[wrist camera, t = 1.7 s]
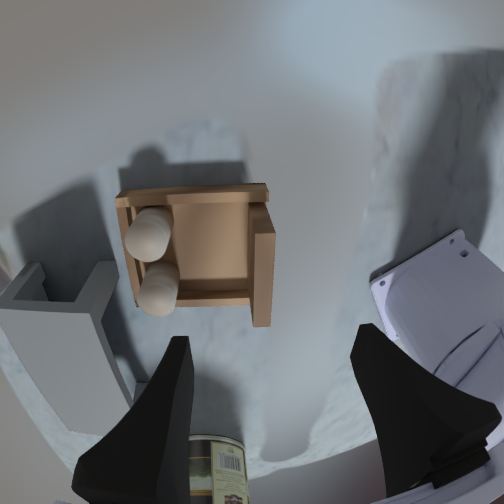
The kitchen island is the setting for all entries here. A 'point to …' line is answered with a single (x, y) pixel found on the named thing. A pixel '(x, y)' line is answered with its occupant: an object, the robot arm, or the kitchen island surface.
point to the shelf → (68, 348)
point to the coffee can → (217, 470)
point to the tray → (199, 247)
